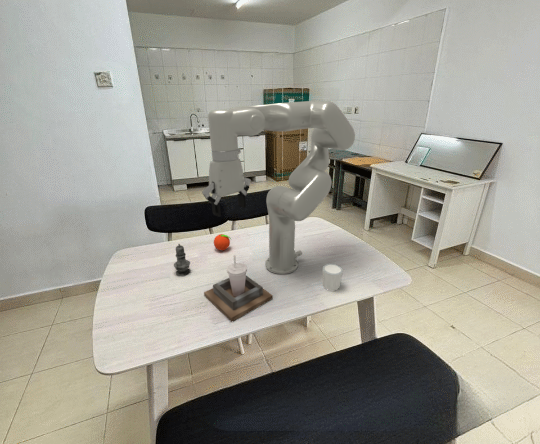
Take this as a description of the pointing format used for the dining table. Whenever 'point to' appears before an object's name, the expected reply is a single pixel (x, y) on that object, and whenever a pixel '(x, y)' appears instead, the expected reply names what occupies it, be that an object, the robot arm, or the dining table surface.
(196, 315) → the dining table surface
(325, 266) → the shot glass
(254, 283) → the socket block
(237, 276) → the smoothie
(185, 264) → the chess piece
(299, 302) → the dining table surface
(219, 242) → the clementine
